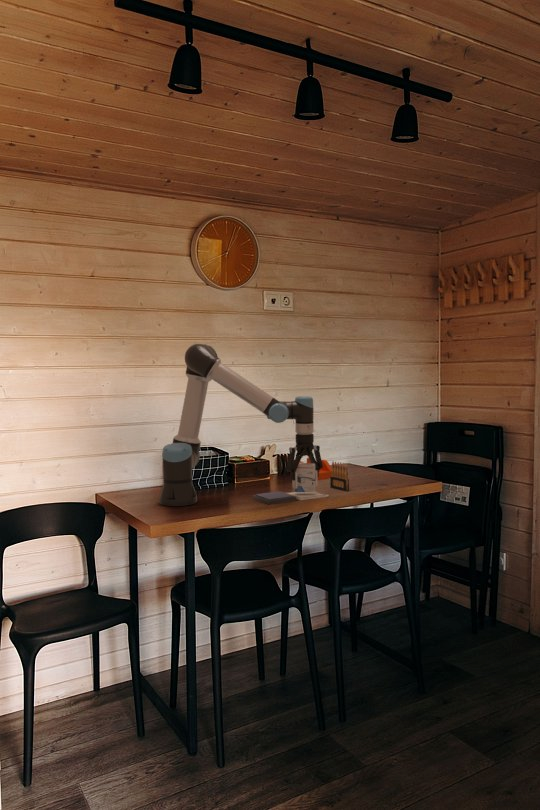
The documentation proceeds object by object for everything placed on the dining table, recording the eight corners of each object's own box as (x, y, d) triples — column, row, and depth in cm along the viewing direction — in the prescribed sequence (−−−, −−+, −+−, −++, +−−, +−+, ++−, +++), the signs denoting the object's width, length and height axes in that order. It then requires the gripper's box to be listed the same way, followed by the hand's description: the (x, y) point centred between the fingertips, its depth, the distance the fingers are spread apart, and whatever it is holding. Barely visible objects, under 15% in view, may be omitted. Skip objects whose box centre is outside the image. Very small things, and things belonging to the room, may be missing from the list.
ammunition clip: (330, 487, 283) (329, 461, 282) (333, 487, 284) (333, 460, 283) (346, 491, 274) (345, 463, 273) (349, 490, 275) (349, 463, 274)
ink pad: (268, 504, 250) (268, 499, 250) (252, 498, 261) (252, 494, 261) (296, 500, 256) (296, 496, 256) (279, 495, 268) (279, 490, 268)
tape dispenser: (290, 476, 314) (290, 460, 314) (310, 473, 322) (310, 457, 321) (313, 481, 300) (313, 464, 299) (334, 478, 307) (334, 461, 306)
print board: (300, 500, 257) (300, 498, 257) (282, 494, 269) (282, 492, 269) (328, 496, 264) (328, 494, 264) (309, 490, 276) (309, 489, 276)
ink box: (294, 492, 264) (294, 464, 263) (295, 490, 269) (295, 462, 268) (315, 492, 263) (315, 464, 262) (315, 490, 268) (315, 462, 267)
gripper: (286, 435, 256) (287, 490, 257) (331, 432, 267) (331, 485, 268) (277, 434, 262) (277, 487, 264) (321, 431, 273) (321, 482, 275)
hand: (304, 486), depth 266 cm, fingers closed on ink box, 9 cm apart
